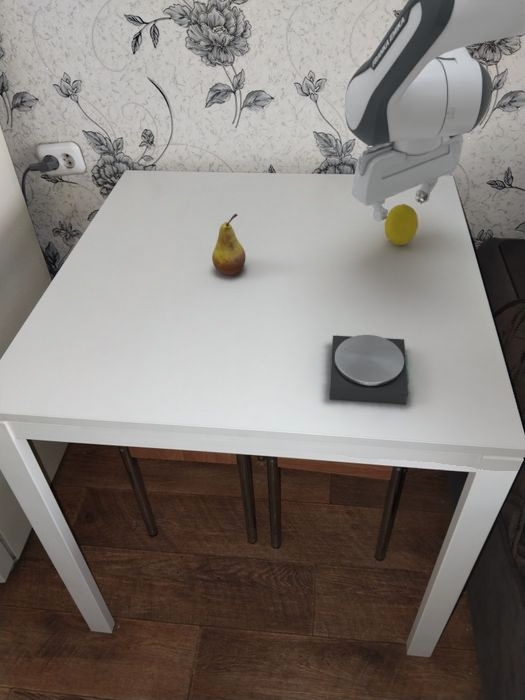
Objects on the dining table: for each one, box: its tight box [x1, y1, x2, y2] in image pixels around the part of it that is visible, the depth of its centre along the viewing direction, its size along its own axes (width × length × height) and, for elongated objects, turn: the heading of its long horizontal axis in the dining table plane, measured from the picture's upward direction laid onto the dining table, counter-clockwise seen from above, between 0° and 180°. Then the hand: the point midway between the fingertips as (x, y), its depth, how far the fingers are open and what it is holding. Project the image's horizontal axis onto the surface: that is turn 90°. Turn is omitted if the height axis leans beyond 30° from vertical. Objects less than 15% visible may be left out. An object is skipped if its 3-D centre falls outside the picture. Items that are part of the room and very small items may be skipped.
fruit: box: [211, 213, 247, 276], centre depth 96 cm, size 6×6×12 cm
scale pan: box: [335, 334, 404, 386], centre depth 79 cm, size 9×9×1 cm
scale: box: [329, 334, 410, 406], centre depth 81 cm, size 10×10×3 cm
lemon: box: [384, 203, 419, 246], centre depth 101 cm, size 6×6×8 cm
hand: (401, 209), depth 99 cm, fingers open, 8 cm apart
